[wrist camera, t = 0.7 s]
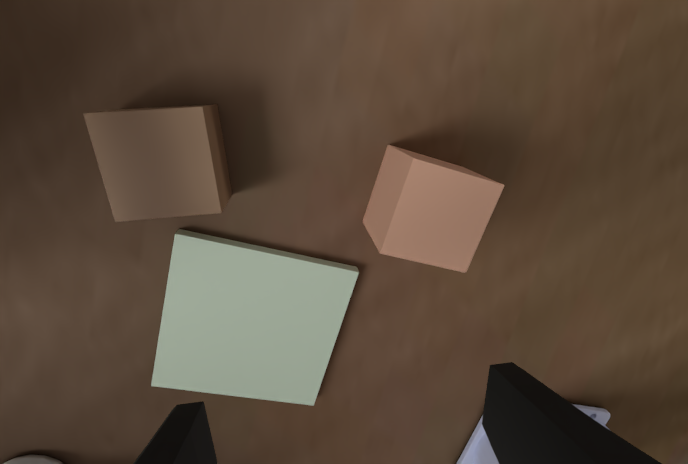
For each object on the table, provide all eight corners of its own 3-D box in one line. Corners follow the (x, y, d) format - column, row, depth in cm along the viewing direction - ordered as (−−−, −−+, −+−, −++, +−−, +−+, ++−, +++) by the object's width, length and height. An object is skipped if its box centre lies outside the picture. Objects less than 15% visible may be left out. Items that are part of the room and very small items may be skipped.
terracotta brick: (461, 166, 18) (504, 185, 15) (432, 238, 20) (465, 272, 16) (387, 143, 17) (413, 158, 14) (362, 221, 19) (379, 253, 15)
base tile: (355, 262, 20) (358, 272, 19) (312, 390, 23) (313, 405, 22) (182, 224, 18) (175, 233, 17) (158, 370, 21) (151, 386, 20)
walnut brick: (218, 104, 16) (202, 106, 13) (232, 193, 17) (221, 213, 15) (120, 109, 15) (83, 113, 13) (144, 200, 17) (115, 222, 14)
